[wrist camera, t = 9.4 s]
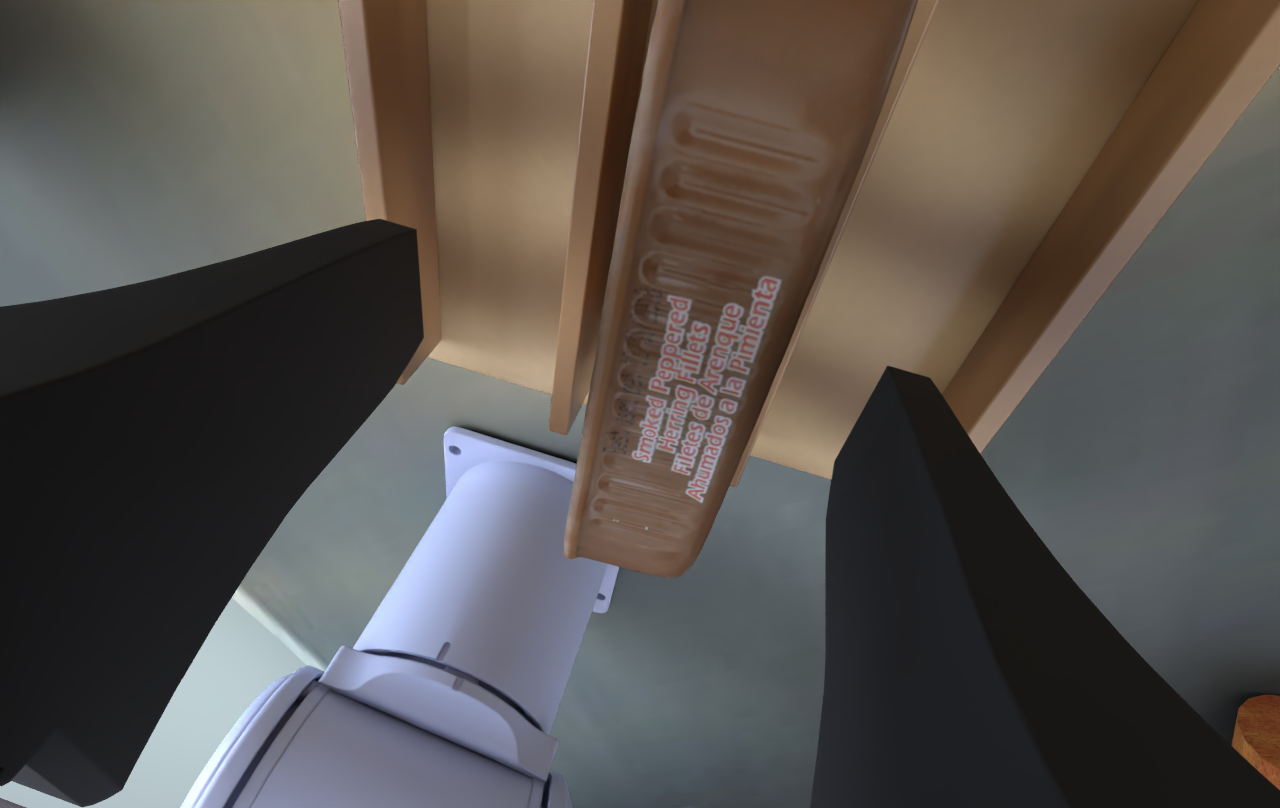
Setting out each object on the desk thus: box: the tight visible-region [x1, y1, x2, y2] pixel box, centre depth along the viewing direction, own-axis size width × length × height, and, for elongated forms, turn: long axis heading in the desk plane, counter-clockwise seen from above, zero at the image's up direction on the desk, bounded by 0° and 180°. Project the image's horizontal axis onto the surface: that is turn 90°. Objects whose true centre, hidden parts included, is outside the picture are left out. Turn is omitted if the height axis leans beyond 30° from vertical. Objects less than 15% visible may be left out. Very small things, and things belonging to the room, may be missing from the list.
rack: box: [338, 0, 1280, 487], centre depth 15 cm, size 18×17×4 cm
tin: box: [564, 0, 918, 578], centre depth 12 cm, size 15×3×8 cm, turn 170°
